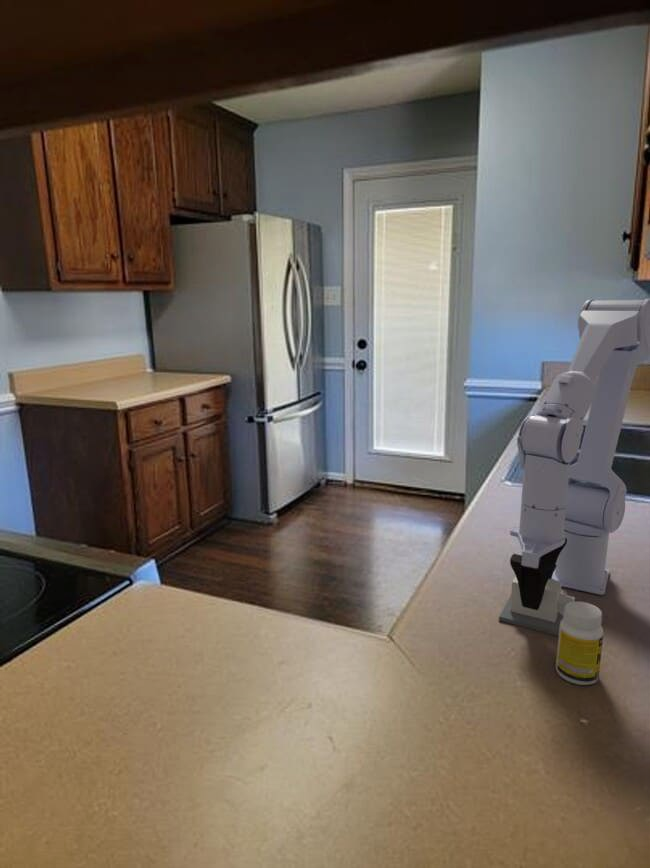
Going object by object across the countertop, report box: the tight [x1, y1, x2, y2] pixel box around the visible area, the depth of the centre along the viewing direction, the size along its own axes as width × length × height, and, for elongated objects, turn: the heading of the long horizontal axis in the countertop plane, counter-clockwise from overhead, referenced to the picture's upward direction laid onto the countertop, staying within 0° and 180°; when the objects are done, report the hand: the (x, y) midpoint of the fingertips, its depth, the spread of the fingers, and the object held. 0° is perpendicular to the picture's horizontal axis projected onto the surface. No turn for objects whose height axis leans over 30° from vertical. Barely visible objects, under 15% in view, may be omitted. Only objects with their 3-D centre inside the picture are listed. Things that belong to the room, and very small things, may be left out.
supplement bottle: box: [555, 601, 604, 686], centre depth 68 cm, size 5×5×8 cm
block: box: [510, 575, 576, 622], centre depth 81 cm, size 4×8×4 cm, turn 60°
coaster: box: [498, 595, 564, 637], centre depth 82 cm, size 8×8×1 cm
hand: (536, 595), depth 82 cm, fingers open, 7 cm apart
